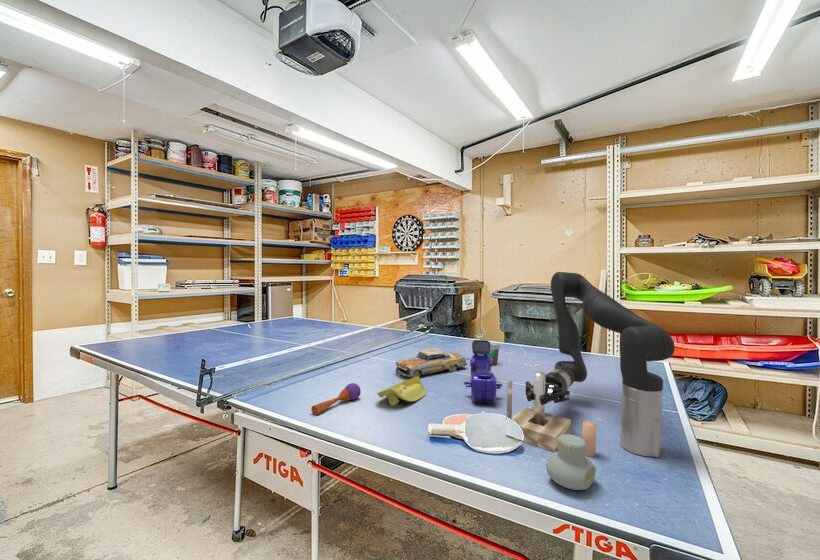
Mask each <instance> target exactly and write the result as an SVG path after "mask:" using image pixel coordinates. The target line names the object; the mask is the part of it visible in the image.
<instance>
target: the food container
mask: <svg viewBox="0 0 820 560" xmlns="http://www.w3.org/2000/svg"><path fill="white" fill-rule="evenodd" d="M500 346H501V345H500V344H491V343H490V352H489V355H488V356H489V357H490V359H492V360H496V361H492V366H497V365H498V359H499V351H500V349H501V347H500ZM478 355H484V354H478Z"/></svg>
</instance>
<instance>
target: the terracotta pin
mask: <svg viewBox="0 0 820 560" xmlns="http://www.w3.org/2000/svg"><path fill="white" fill-rule="evenodd" d="M597 427H598V425H597V423H595V422H593V421H589V420H586V421H583V422H582V434H581V435H582V436H581V438H582V439H583V440H584V441H585V443H586V457H591V458H592V457H593V458H594V457H596V445H597V444H596V443H597Z"/></svg>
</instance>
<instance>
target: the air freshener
mask: <svg viewBox="0 0 820 560" xmlns="http://www.w3.org/2000/svg"><path fill="white" fill-rule="evenodd" d="M545 470H546V472H547V475H548V476H549V478H551V480H552V481H553V482H554V483H556V484H557V485H559V486H561V487H563V488H566V489H568V490H569V489H570V490H574V491H583V490H588V488H590V487H591V485H592V483H594V479H595V477H596V473H597V469H596V466H595V465H594V463H593V462H592V461H591V459H589V458H588V457H587V456H586V443H585V441H584V440H583V439H582V437H580V436H577V435H574V434H571V433H570V434H564V435H561V436H559V437H558V449H557V450H556V451H555V452H553V453H552V454H551V455H550V456H549V458H548V460H547V462H546V466H545Z"/></svg>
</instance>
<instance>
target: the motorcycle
mask: <svg viewBox="0 0 820 560" xmlns="http://www.w3.org/2000/svg"><path fill="white" fill-rule="evenodd" d="M490 344H491V343H490V341H489V340H486V339H475V340H473V341H472V345H471V351H472V354H473V355H472V356H471V357H469V358H466V357H465V359H466V360H469V362H470V363H469V364H470V377H471V379H470V381H469V382H468V381H464V383H463V385H465V388H471V389H470V390H471V391H470V393H471V394H470V395H471V399H472V401H473V403H478V404H479V403H481V404H482V403H486V404H494V403H495V401H496V400H497V390H501V387H503V384H502V383H497V378H496V376H495V374H494V373H493V372H492V367H493V365H492V361H496V360H492V359H490V357H489V356H488V355H489V352H490ZM478 354H484V355H478Z"/></svg>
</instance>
